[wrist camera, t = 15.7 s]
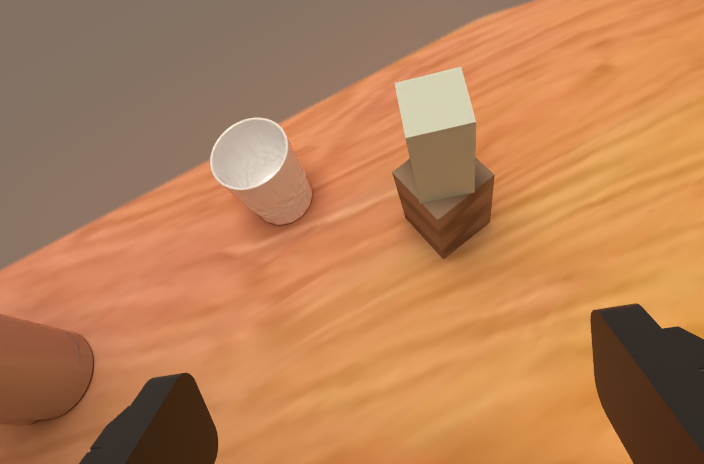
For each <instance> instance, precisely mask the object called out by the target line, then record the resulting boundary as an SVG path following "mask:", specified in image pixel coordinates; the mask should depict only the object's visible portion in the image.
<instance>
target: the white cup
mask: <svg viewBox="0 0 704 464" xmlns="http://www.w3.org/2000/svg"><path fill="white" fill-rule="evenodd" d="M210 166H211V170H212V173H213V175H214V177H215V178H216V180H217V181H218V182H219V183H220V184H221V185H223V186H224V187H225V188H226V189H227V190H228V191H230V192H231V193H232V194H233V195H234V196H235V197H236V198H238V199H239V200H240V201H241V202H242V203H243V204H244V205H246V206H247V207H248V208H249V209H251V210H252V211H254V212H255V213H257V214H258V215H259V216H260V217H262V218H263V219H264V220H265V221H266V222H269V223H272V224H276V225H282V224H288V223H292V222H293V221H295V220H297V219H298V218H300V217H301V216H303V214H304V213H305V212H306V210H307V209H308V207H309V206H310V203H311V198H312V193H313V192H312V189H311V186H310V182H309V180H308V178H307V176H306V173H305V171H304V169H303V167H302V165H301V163H300V160H299V158H298V157H297V155H296V153H295V151H294V149H293V147H292V145H291V143H290V142H289V140H288V138H287V136H286V134H285V132H284V130H283V129H282V128H281V127H280V126H279V125H278V124H277V123H275V122H274V121H271V120H269V119H264V118H250V119H245V120H242V121H240V122H238V123H236V124H234V125H232V126H231V127H229V128H228V129H227V130H226V131H225V132H224V133H223V134H222V135H221V136H220V137H219V138H218V140H217V141H216V143H215V145H214V147H213V149H212V153H211V158H210Z"/></svg>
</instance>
